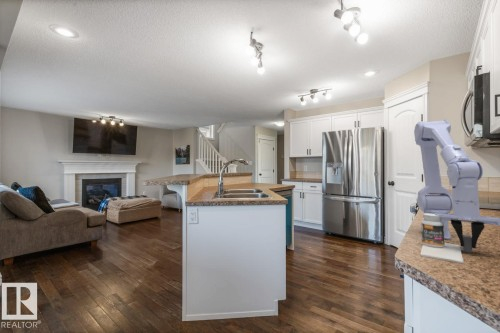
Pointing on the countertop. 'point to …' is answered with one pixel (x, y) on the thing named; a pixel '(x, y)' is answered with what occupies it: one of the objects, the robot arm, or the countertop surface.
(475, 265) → the countertop surface
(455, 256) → the pull board
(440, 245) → the pill bottle
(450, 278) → the countertop surface
